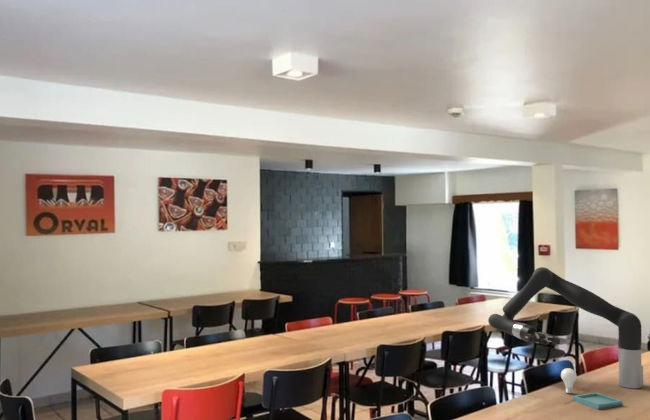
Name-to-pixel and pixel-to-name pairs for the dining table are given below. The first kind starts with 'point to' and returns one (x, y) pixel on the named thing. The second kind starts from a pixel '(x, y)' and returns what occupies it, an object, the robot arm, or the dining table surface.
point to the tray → (597, 400)
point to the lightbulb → (568, 378)
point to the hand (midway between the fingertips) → (553, 342)
